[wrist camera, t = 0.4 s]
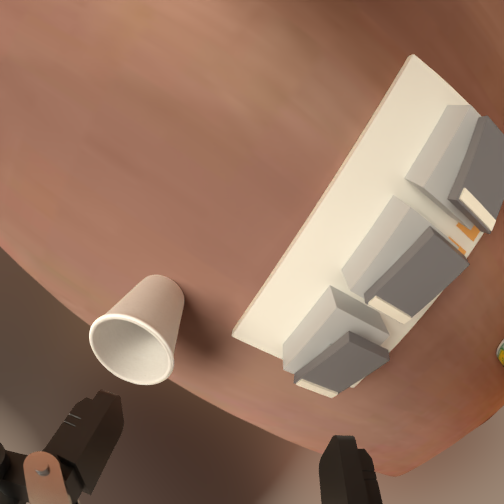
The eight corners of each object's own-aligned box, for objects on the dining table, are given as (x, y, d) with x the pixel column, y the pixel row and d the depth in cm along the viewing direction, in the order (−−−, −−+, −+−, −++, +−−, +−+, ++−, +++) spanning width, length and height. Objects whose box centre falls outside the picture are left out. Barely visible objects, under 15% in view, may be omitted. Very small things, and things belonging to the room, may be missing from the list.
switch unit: (408, 56, 23) (438, 44, 17) (515, 164, 25) (549, 175, 20) (232, 329, 36) (225, 367, 30) (351, 381, 38) (360, 417, 33)
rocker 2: (429, 225, 21) (435, 235, 20) (465, 255, 22) (470, 266, 21) (363, 293, 26) (365, 305, 25) (401, 315, 27) (403, 326, 26)
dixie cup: (116, 296, 35) (77, 348, 26) (150, 248, 32) (109, 297, 23) (171, 337, 37) (146, 397, 28) (211, 296, 34) (191, 357, 25)
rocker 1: (348, 330, 25) (349, 343, 24) (388, 349, 26) (389, 362, 25) (294, 373, 30) (293, 384, 29) (332, 388, 31) (332, 399, 30)
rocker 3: (478, 117, 19) (489, 115, 18) (509, 153, 20) (520, 153, 19) (447, 199, 20) (458, 200, 19) (481, 231, 21) (492, 234, 20)
